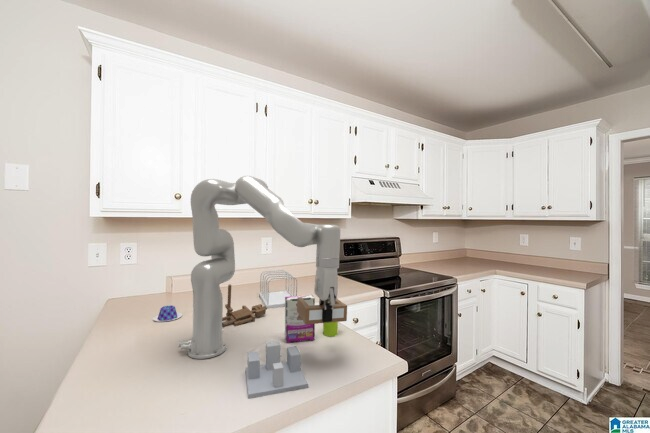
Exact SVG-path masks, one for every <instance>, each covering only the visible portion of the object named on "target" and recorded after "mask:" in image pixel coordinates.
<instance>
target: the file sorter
mask: <svg viewBox="0 0 650 433" xmlns="http://www.w3.org/2000/svg"><path fill="white" fill-rule="evenodd" d="M262 274H263V275H262ZM260 277H262V278H260V281H259V283H260V286H259V288H260V289H259V290H260V293H258V297H259V298H260V300H261V302H262V303H263V304H262V305H263V306H265V307H266V308H267V309H275V308H281V307H282V308H283V307H284V308H285V297H290V296H298V279H297V278H296V277H295V276H293V275H292V274H291V273H289V272H288V271H286V270H284V269H278V270H265V271H262V272H261V273H260ZM280 279H282V280H283V279H285V290H280V291H279V290H278V291H270V287H269V286H270V285H269V284H270V281H273V280H280ZM287 280H288V281H287ZM287 282H288V283H287ZM287 284H288V285H287ZM292 286H293V287H292ZM292 288H293V289H292ZM269 291H270V292H269Z"/></svg>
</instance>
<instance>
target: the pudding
mask: <svg viewBox="0 0 650 433" xmlns="http://www.w3.org/2000/svg"><path fill="white" fill-rule="evenodd" d="M182 316H183V314H182V313H181V312H177V309H176V306H175V305H164V306H162V307H161V308H160V309H159V314H158V315H155V316H153V318H152V320H153V321H154V322H169V321H174V320H176V319H177V320H178V319H179V318H182Z"/></svg>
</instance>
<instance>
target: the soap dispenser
mask: <svg viewBox="0 0 650 433" xmlns="http://www.w3.org/2000/svg"><path fill="white" fill-rule="evenodd" d="M328 299H329V298H328ZM328 303H329V302H328ZM338 323H339V322H330V323H322V334H323V336H325V337H330V338H331V337H336V336H337V335H338V331H339V329H338Z"/></svg>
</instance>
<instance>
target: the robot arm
mask: <svg viewBox="0 0 650 433" xmlns="http://www.w3.org/2000/svg"><path fill="white" fill-rule="evenodd" d="M246 204H247V205H248V206H249V207H251V208H252V209H253V210H255V211H256V212H257V213H258V214H260V215H261V216H262V217H263V218H264V219H265V220H266V222H267V223H268V224H269V225H270V227H271V228H272V229H273V230H274V231H275V232H276V233H277V234H278V235H280V236H281V237H282V238H283V239H285V240H286V241H287V242H288V243H290V244H291V245H292V246H295V247H297V248H305V247H307V246H308V247H309V246H311V245H313V246H314V245H316V249H315V250H316V252H315V256H316V258H315V267H316V271H315V280H314V290H313V291H314V292H313V293H314V294H315V295H316V297H317V298H319V299H318V300H319V301H318V305H324V309H323V310H322V322H331V321H332V311H333V306H334V305H335V300H336V299H338V287H339V286H338V285H339V280H338V278H339V277H338V275H339V274H338V269H339V268H340V255H341V254H340V250H341V248H340V247H341V227H340V226H339V225H336V224H316V223H310V222H302V220H300V218H297V217H296V216H295V215H294V214H292V213H291V212H290V211H289V210H288V209H287V207H286V206H285V203H284V200H283V199H282V198H281V197H280V196H278V195H277V194H276V193H275V192H274V191H272V190H270V188H269V186H268V184H267V183H266V182H265V181H264V180H263V179H261V178H257V177H255V176H252V175H243V176H240V177H239V178H238V179H237V180H236V182H228V181H225V180H221V179H215V178H207V179H204V180H202V181H200V182H198V183H197V184H196V185H195V187H193V189H192V191H191V194H190V209H191V215H192V235H193V238H192V239H193V249H194V251H195V253H196V254H197V255H198V256H199V257H210V258H211V259H206V260H203V261H200V262H199V263H197V264H196V265H195V266H194V267H192V270H191V272H190V282H191V288H192V301H193V303H192V308H193V311H192V312H193V314H192V315H193V316H192V318H193V319H192V320H193V321H192V337H191V338H189V339H188V340H179V341H178V348H181V350H185V349H187V355H188V357H190V358H191V359H196V360H198V359H199V360H202V359H203V360H204V359H210V358H214V357H217V356H219V355H221V354H223V353H224V352H225V351H226V350H227V343H226V342H225V341H224V340H223V331H222V329H223V327H222V322H223V321H222V318H223V294H222V290H221V287H220V285H221V284H223V283H226V282H228V281H230V280H231V279H232V278H233V276H234V275H235V271H236V258H235V256H236V255H235V243H234V239H233V237H232V234H231V233H230V232H229V231H228V230H226V229H224V228H223V229H222V228H220V224H219V222H220V221H219V220H220V219H219V218H220V217H219V214H218V211H217V209H216V205H223V206H237V205H246ZM328 298H329V299H328ZM328 302H329V303H328Z"/></svg>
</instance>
